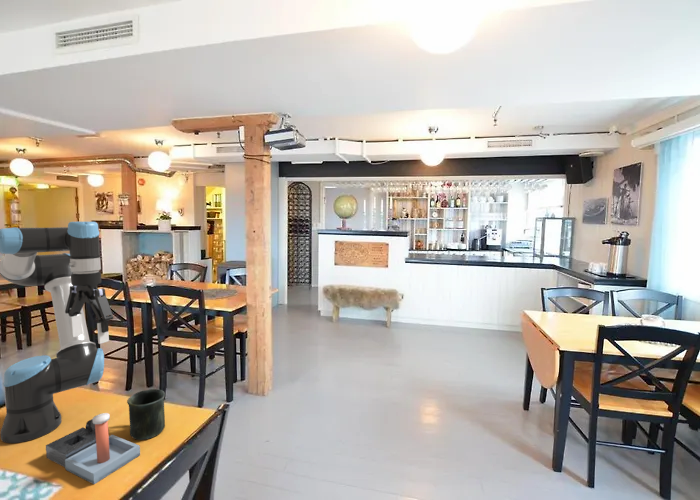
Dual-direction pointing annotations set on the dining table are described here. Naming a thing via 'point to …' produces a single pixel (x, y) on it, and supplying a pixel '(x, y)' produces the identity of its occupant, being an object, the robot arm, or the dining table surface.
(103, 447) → the pin
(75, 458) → the tray
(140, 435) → the mug
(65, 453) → the block
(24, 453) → the dining table surface
